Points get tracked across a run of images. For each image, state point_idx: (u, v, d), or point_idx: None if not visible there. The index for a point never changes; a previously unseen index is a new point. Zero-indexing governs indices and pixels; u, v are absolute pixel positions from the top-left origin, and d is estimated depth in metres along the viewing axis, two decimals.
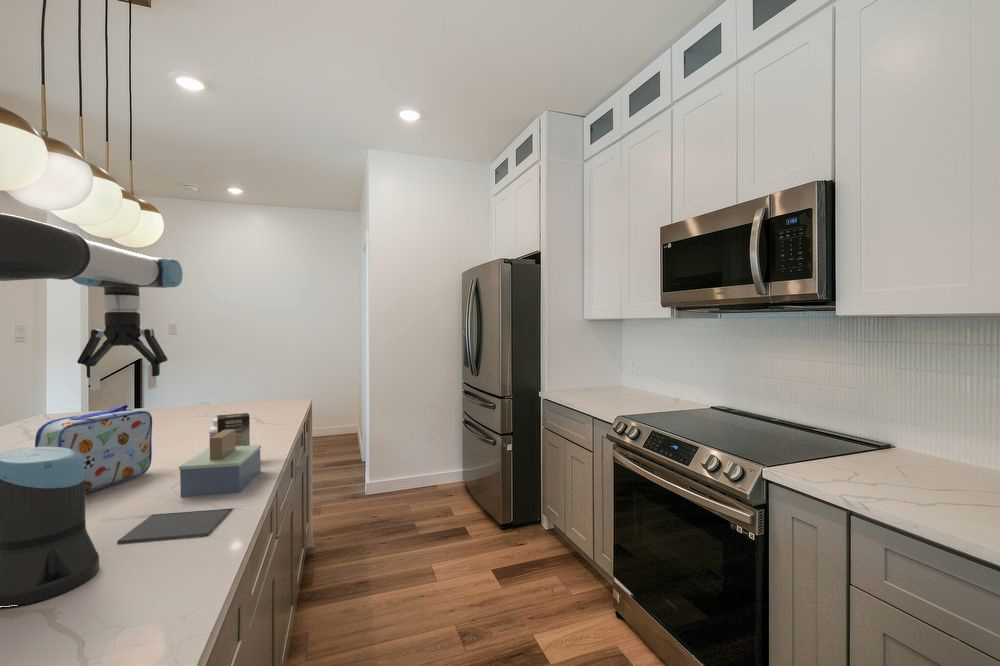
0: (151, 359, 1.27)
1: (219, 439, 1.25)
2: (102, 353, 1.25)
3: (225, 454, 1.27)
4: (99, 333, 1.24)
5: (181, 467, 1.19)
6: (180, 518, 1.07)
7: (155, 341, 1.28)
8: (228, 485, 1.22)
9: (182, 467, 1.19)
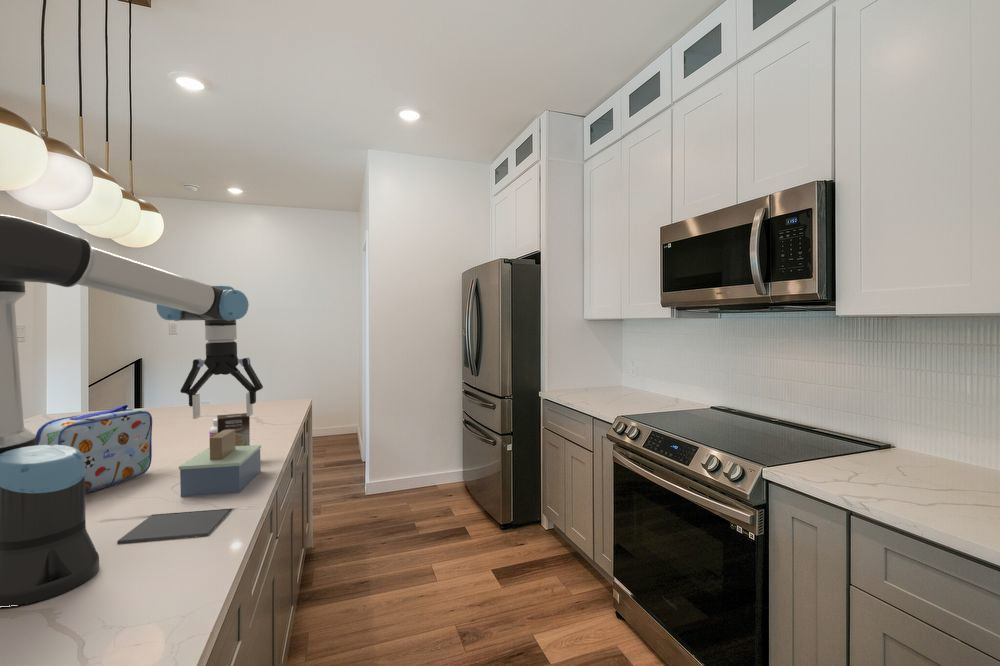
0: (249, 388, 1.30)
1: (219, 439, 1.25)
2: (203, 382, 1.28)
3: (225, 454, 1.27)
4: (200, 363, 1.28)
5: (181, 467, 1.19)
6: (180, 518, 1.07)
7: (252, 369, 1.31)
8: (228, 485, 1.22)
9: (182, 467, 1.19)
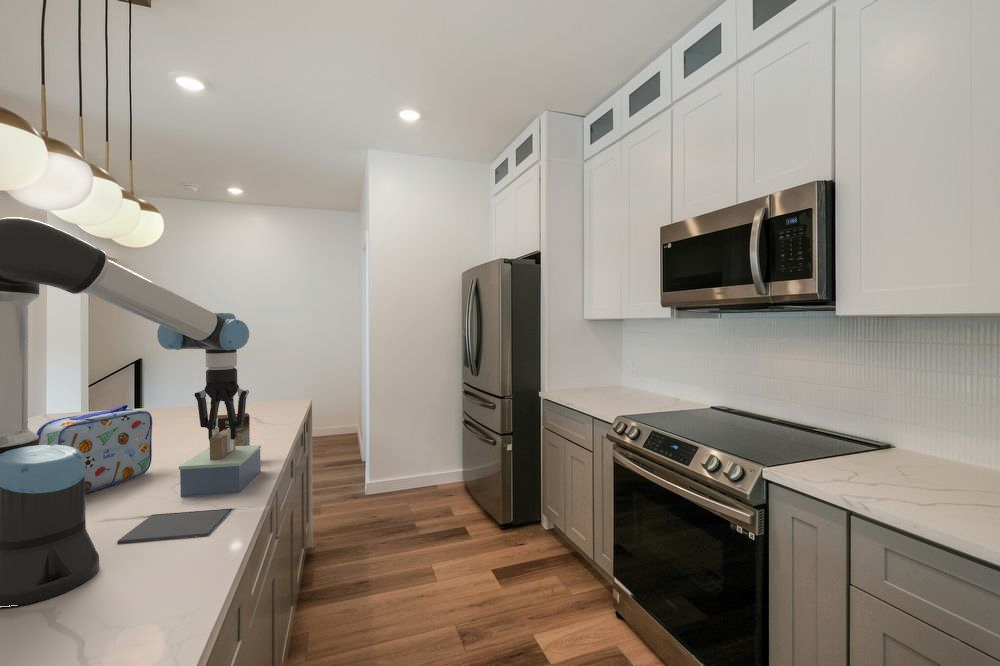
0: (231, 422, 1.29)
1: (219, 439, 1.25)
2: (215, 412, 1.29)
3: (225, 454, 1.27)
4: (202, 394, 1.28)
5: (181, 467, 1.19)
6: (180, 518, 1.07)
7: (244, 403, 1.31)
8: (228, 485, 1.22)
9: (182, 467, 1.19)
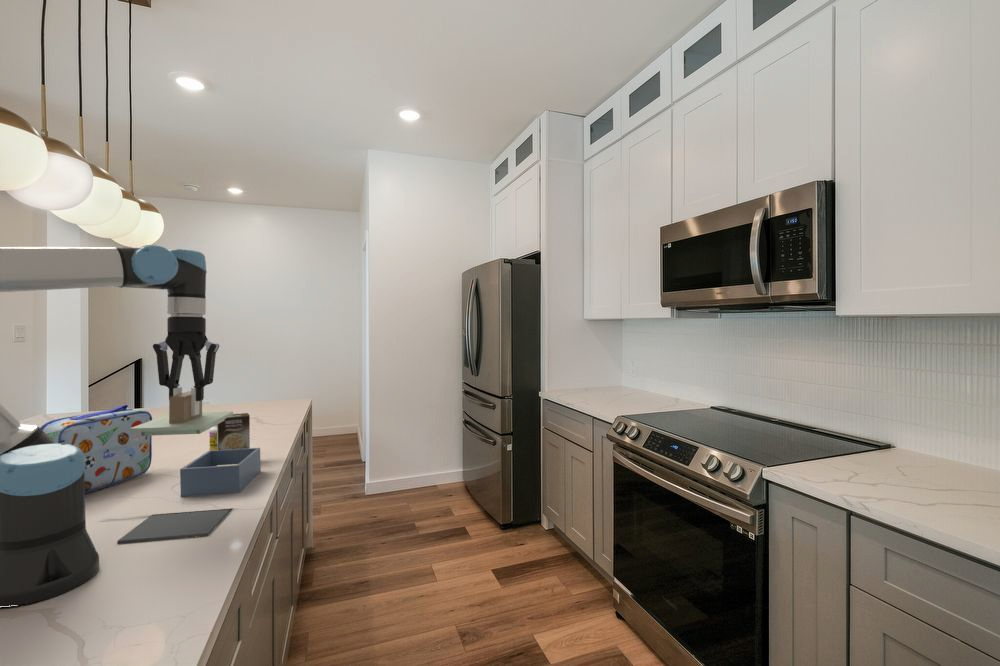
0: (197, 381, 1.09)
1: (181, 398, 1.05)
2: (178, 368, 1.08)
3: (188, 417, 1.07)
4: (162, 346, 1.08)
5: (132, 429, 0.99)
6: (180, 518, 1.07)
7: (213, 359, 1.11)
8: (228, 485, 1.22)
9: (134, 429, 0.99)
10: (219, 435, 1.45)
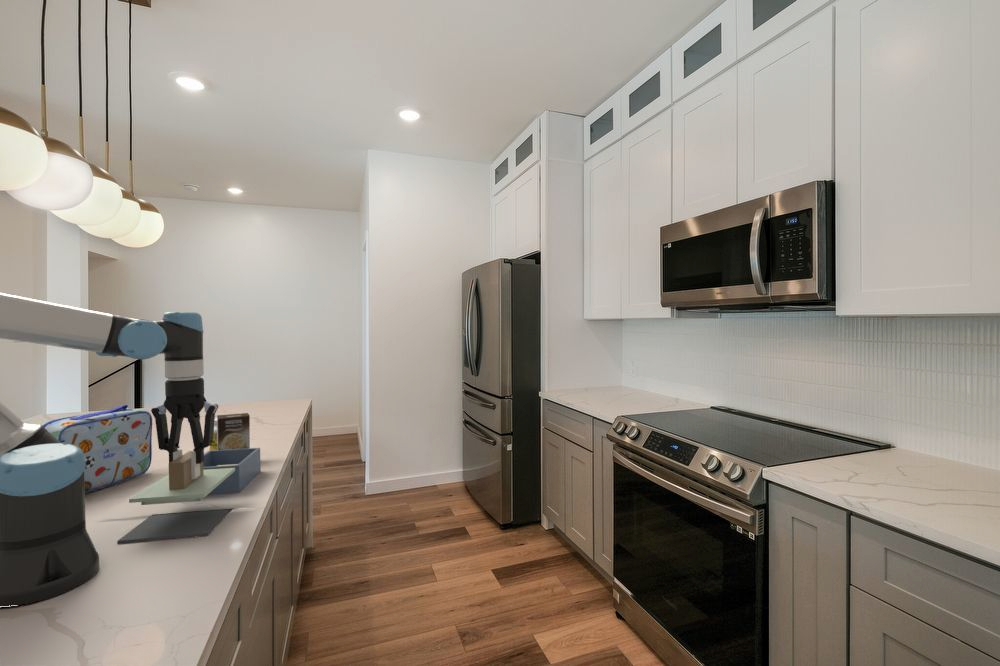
0: (197, 444, 1.07)
1: (180, 464, 1.03)
2: (177, 431, 1.07)
3: (189, 482, 1.06)
4: (161, 409, 1.06)
5: (132, 500, 0.98)
6: (180, 518, 1.07)
7: (213, 420, 1.09)
8: (228, 485, 1.22)
9: (133, 500, 0.98)
10: (219, 435, 1.45)
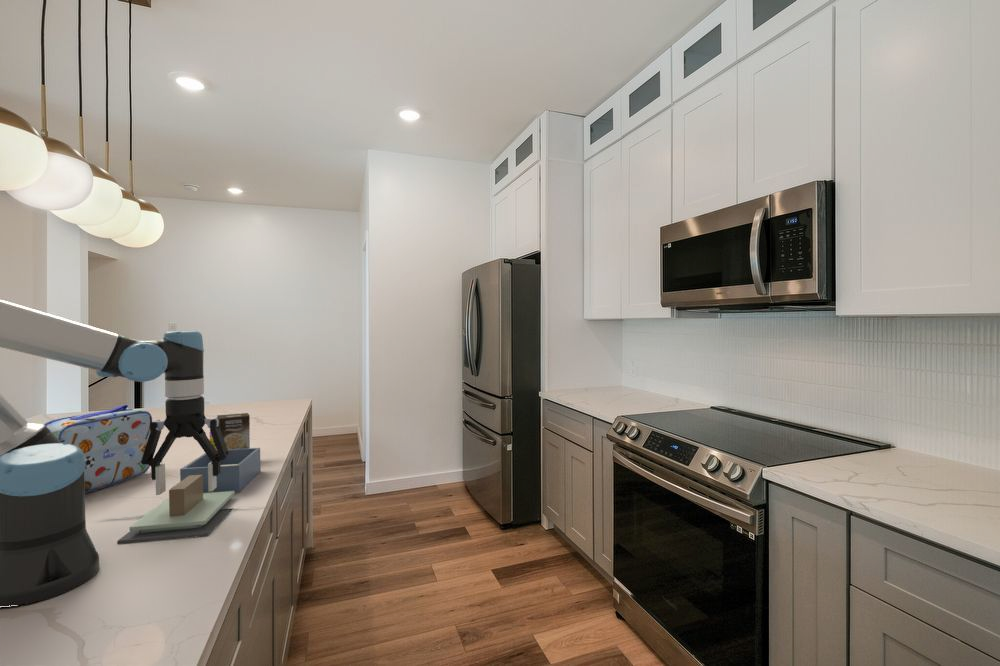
0: (212, 456, 1.08)
1: (181, 491, 1.03)
2: (166, 448, 1.07)
3: (189, 507, 1.06)
4: (159, 425, 1.06)
5: (132, 528, 0.98)
6: None
7: (220, 433, 1.10)
8: (228, 485, 1.22)
9: (134, 528, 0.98)
10: None
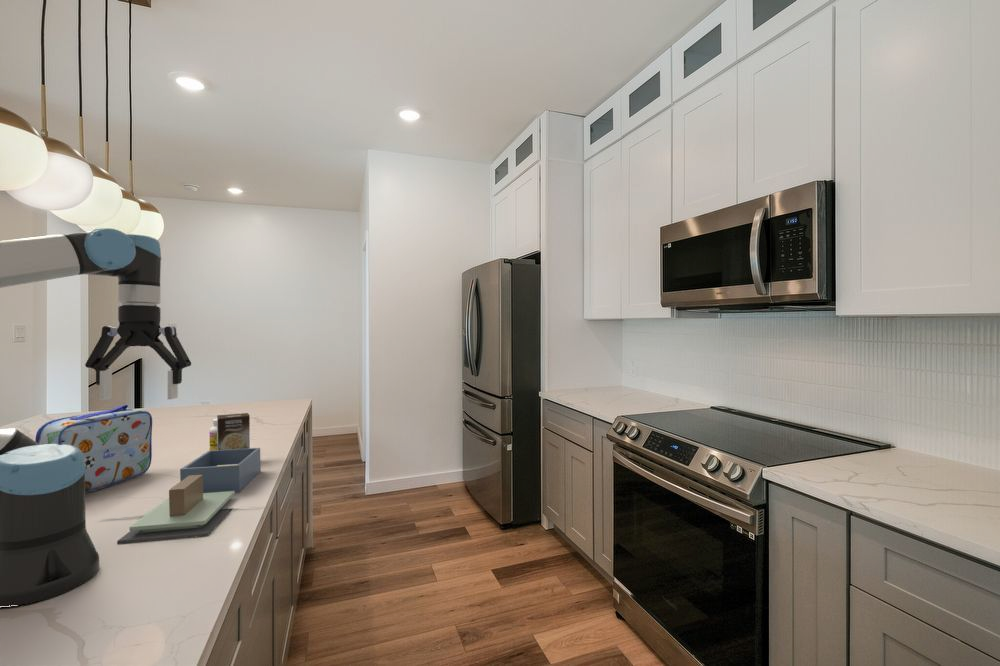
0: (171, 363, 1.04)
1: (181, 491, 1.03)
2: (115, 355, 1.03)
3: (189, 507, 1.06)
4: (112, 331, 1.03)
5: (132, 528, 0.98)
6: None
7: (177, 341, 1.06)
8: (228, 485, 1.22)
9: (134, 528, 0.98)
10: (219, 435, 1.45)
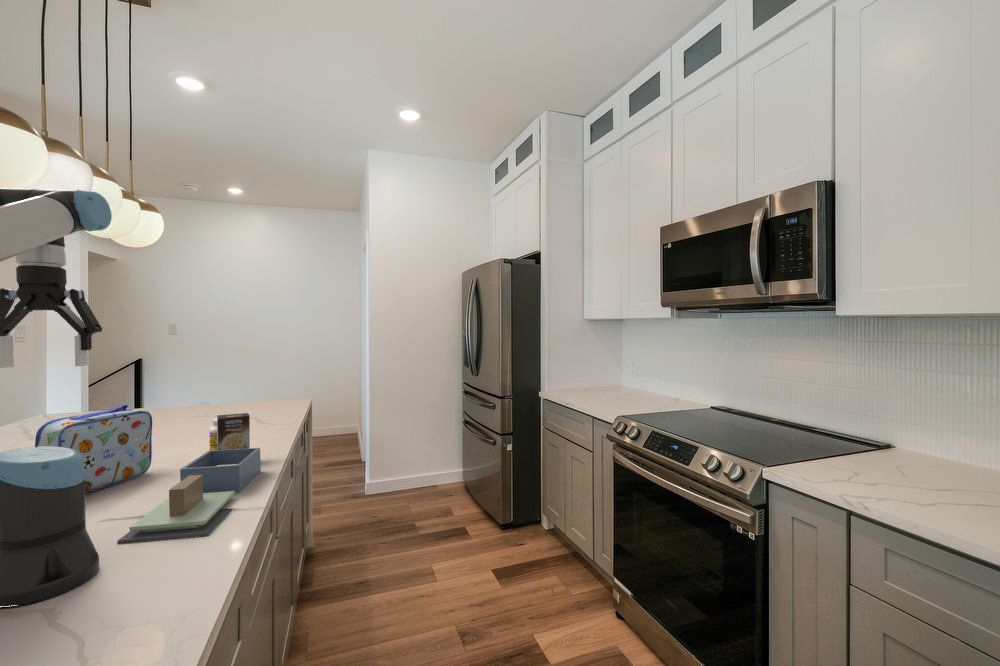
0: (79, 328, 0.98)
1: (181, 491, 1.03)
2: (15, 320, 0.96)
3: (189, 507, 1.06)
4: (10, 294, 0.96)
5: (132, 528, 0.98)
6: None
7: (85, 305, 0.99)
8: (228, 485, 1.22)
9: (134, 528, 0.98)
10: (219, 435, 1.45)
